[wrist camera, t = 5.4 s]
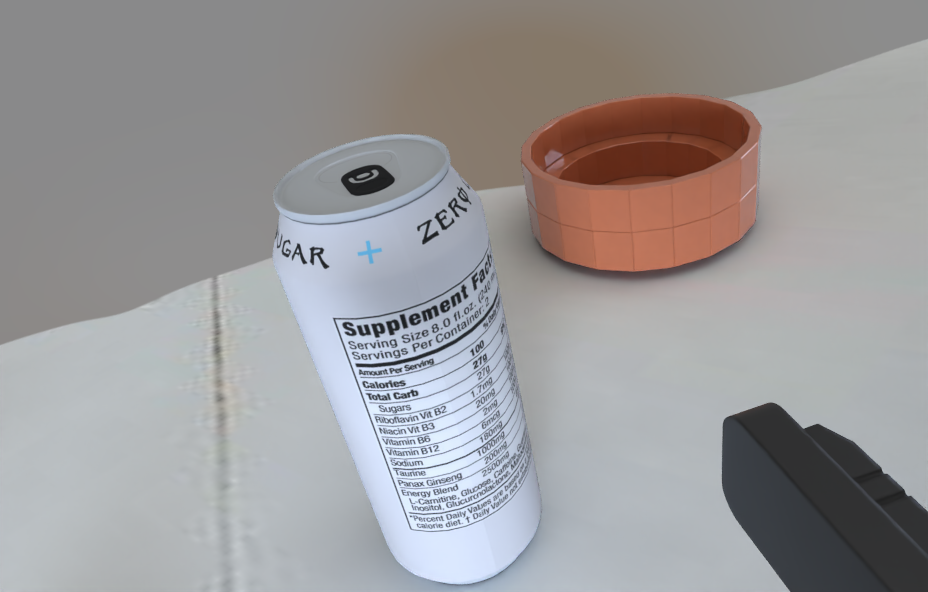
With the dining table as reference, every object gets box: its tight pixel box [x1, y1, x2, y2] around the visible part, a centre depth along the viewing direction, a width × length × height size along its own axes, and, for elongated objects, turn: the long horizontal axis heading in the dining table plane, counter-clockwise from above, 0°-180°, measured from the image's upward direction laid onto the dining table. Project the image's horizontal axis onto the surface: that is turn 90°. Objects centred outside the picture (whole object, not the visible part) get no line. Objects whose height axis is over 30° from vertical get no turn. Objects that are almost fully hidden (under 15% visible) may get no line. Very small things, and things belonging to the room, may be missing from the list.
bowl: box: [521, 93, 762, 272], centre depth 42 cm, size 13×13×6 cm
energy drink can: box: [272, 134, 542, 585], centre depth 23 cm, size 6×6×15 cm
